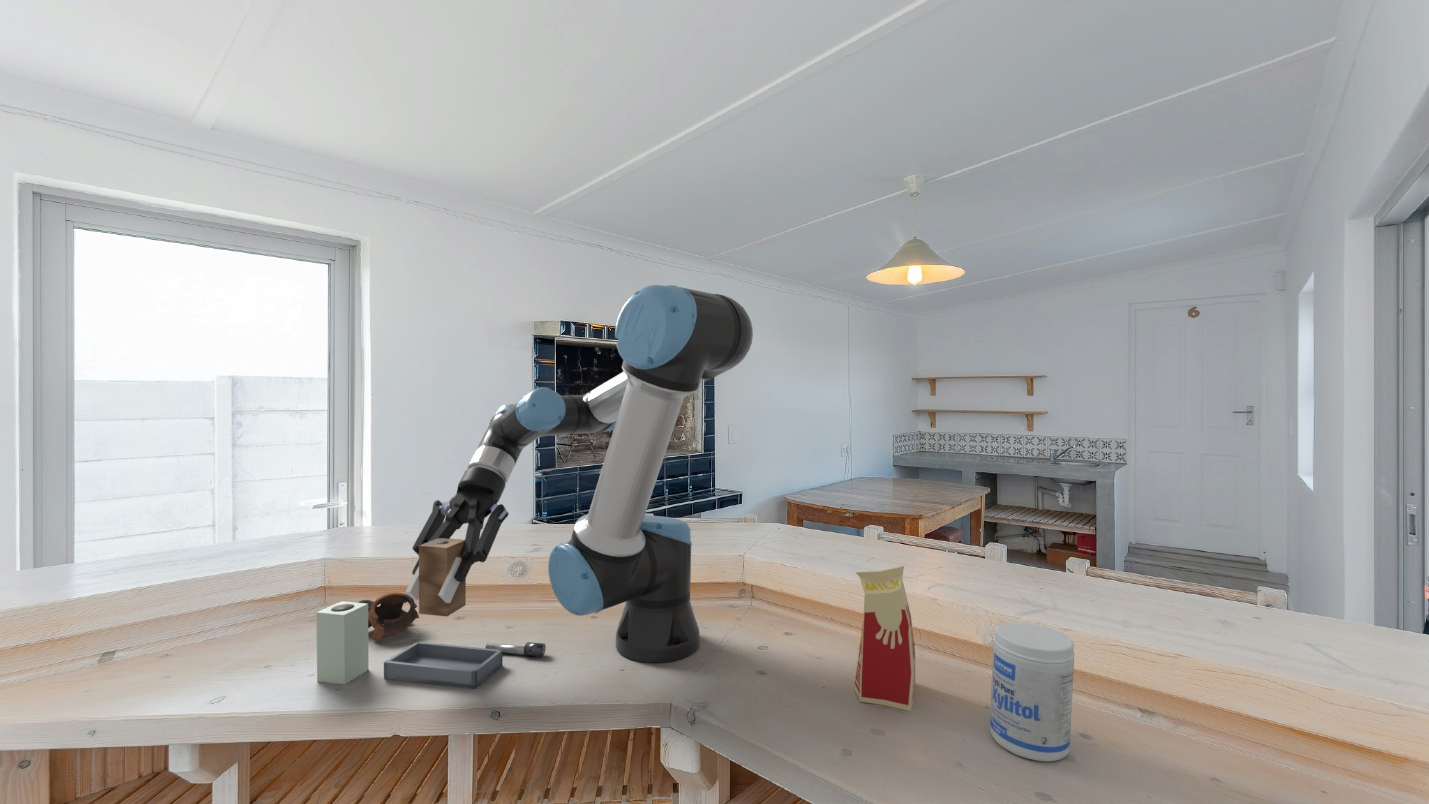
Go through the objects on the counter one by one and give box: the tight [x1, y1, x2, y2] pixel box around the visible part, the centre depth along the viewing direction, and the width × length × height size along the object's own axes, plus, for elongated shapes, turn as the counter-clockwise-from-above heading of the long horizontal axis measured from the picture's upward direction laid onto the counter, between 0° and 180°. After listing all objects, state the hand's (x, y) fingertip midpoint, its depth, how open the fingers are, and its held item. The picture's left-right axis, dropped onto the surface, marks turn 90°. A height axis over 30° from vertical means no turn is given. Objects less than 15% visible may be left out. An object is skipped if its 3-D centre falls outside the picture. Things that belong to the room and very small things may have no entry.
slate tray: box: [383, 641, 504, 690], centre depth 100 cm, size 16×8×3 cm, turn 79°
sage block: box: [315, 600, 370, 685], centre depth 98 cm, size 5×5×11 cm
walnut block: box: [418, 538, 467, 617], centre depth 100 cm, size 5×5×11 cm
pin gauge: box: [484, 641, 547, 658], centre depth 107 cm, size 10×2×2 cm, turn 79°
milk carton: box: [853, 565, 916, 712], centre depth 95 cm, size 9×9×20 cm
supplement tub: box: [989, 621, 1075, 763], centre depth 81 cm, size 10×10×15 cm
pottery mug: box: [357, 592, 420, 643], centre depth 115 cm, size 12×10×8 cm
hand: (427, 597), depth 96 cm, fingers closed on walnut block, 5 cm apart
